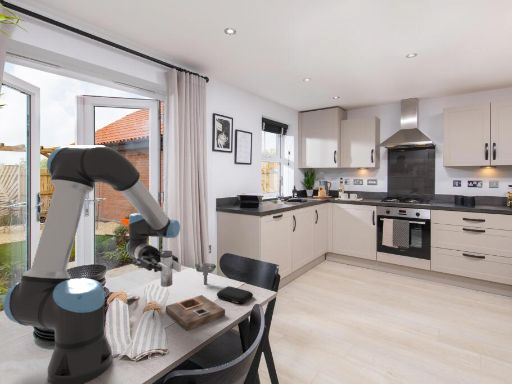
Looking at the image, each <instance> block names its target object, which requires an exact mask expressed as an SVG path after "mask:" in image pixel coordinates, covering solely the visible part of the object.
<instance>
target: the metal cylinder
mask: <svg viewBox="0 0 512 384" xmlns="http://www.w3.org/2000/svg"><path fill="white" fill-rule="evenodd" d="M160 253H161V263H162V264H164V265H166V266H167V267H168V275H165V274H163V273H162V272H160V287H163V288H168V287H171V286H173V269H172V255H173V250H162V251H160Z"/></svg>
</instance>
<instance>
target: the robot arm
mask: <svg viewBox="0 0 512 384" xmlns="http://www.w3.org/2000/svg"><path fill="white" fill-rule="evenodd" d="M46 170H47V171H48V172H47V173H48V174H49V176H50V177H51V180H50V184H51V185H52V186H53V187H54V191H53V193H52V197H51V200H50V203H49V207H48V210H47V214H46V217H45V221H44V224H43V228H42V230H41V234H40V237H39V241H38V244H37V248H36V252H35V254H34V258H33V260H32V261H33V262H32V266H31V268H30V269H28V270H26V271H25V272H24V273H22V276H21V279H20V280H19V281H17V282H15V284H14V285H13V287H10V288H9V289H8V291H7V293H6V295H5V297H4V300H3V311H4V312H3V313H4V314H5V316H6V317H7V318H8V319H9V320H10V321H11V322H13V323H15V324H19V325H21V326H27V327H28V326H29V327H30V326H31V327H36V328H42V329H48V330H53V331H54V348H53V351H52V354H51V358H50V359H49V363H48V366H47V380H48V381H49V383H50V384H84V383H86V382H89V381H91V380H94V379H95V378H97V377H98V376H100V375H101V374H102V373H104V372H105V371H106V370H108V368H109V366H110V365H111V364H112V360H113V351H112V348H111V346H110V343H109V340H108V339H107V338H108V337H107V336H106V333H105V308H106V307H105V306H106V305H105V303H106V302H105V300H106V299H105V297H106V296H105V292H104V291H105V290H104V286H103V285H102V283H100V282H99V281H97V280H95V279H92V278H85V277H82V278H71V274H70V273H68V271H67V270H68V266H69V262H70V258H71V254H72V250H73V246H74V243H75V239H76V235H77V233H78V228H79V223H80V220H81V217H82V213H83V209H84V204H85V201H86V197H87V194H90V193H91V192H93V190H94V187H95V183H102V184H107V185H109V186H110V187H111V188H112V189H113V190H114V191H116V192H120V193H121V194H122V195H123V197H124V198H125V199H126V200H127V201H128V202H129V203H130V205H132V207H133V208H134V209H135V211H136V212H137V213H136V212H135V213H131V214H129V216H128V242H127V244H126V249H125V250H126V252H127V253H128V255H129V256H130V257H131V258H134V259H135V260H136V266H140V267H142V268H143V269H145V270H147V271H148V272H149V271H150V272H151V271H152V270H153V272H154V273H158V272H160V273H161V272H162V273H163V274H165V275H168V267H167V266H166V265H164V264H162V263H161V251H160V250H159V249H158V248H157V247H155V246H153V245H151V244H149V237H153V238H154V237H155V238H164V239H165V238H166V239H174V238H175V239H176V238H177V237H178V236H179V234H180V231H181V224H180V222H179V221H178V220H176V219H170V218H169V217H168V215H167V214H166V212H165V211H164V209H163V208H162V206H161V205H160V204H159V203H158V201H157V200H156V199H155V198H154V195H152V194H151V192H150V190H149V189H148V188H147V187H146V186H145V184H144V183H143V181H142V180H141V174H140V172H139V170H138V169H137V168H136V167H135V165H133V163H132V162H131V161H130V160H129V159H127V157H126V156H125V155H123V154H121V152H119V151H117V150H115V149H114V148H112V147H110V146H106V145H98V144H97V145H76V144H75V145H74V144H71V145H67V146H60V147H57V148H55V149H54V150H53V151H52V152H51V153H50V154H49V156H48V158H47V161H46ZM172 270H174V271H176V272H178V273H181V271H182V270H181V263H179V257H177V256H175V255H173V254H172Z"/></svg>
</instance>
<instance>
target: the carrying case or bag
mask: <svg viewBox="0 0 512 384" xmlns="http://www.w3.org/2000/svg"><path fill="white" fill-rule="evenodd" d="M216 297H217V298H219V299H222V300H225V301H228V302H232V303H233V304H234V303H235V304H238V305H243V304H246V303H247V302H248V301H249V299H250V300H251V299H252V298H253V297H254V293H252V292H251V291H249V290H246V289H241V288H239V287H234V286H230V285H229V286H226V287H224V288H222V289H220V290H218V291H217V292H216Z"/></svg>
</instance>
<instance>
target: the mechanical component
mask: <svg viewBox="0 0 512 384" xmlns="http://www.w3.org/2000/svg"><path fill="white" fill-rule="evenodd" d="M194 267H195V269H196V270H195V271H196V272H198V273H202V276H203V285H207V284H208V275H209V274H211V273H213V272H214V271H215V269H216V268H217V265H216V263H209V262H203V263H202V264H201V265H200V263H199V262H197V263H195V264H194Z"/></svg>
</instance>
